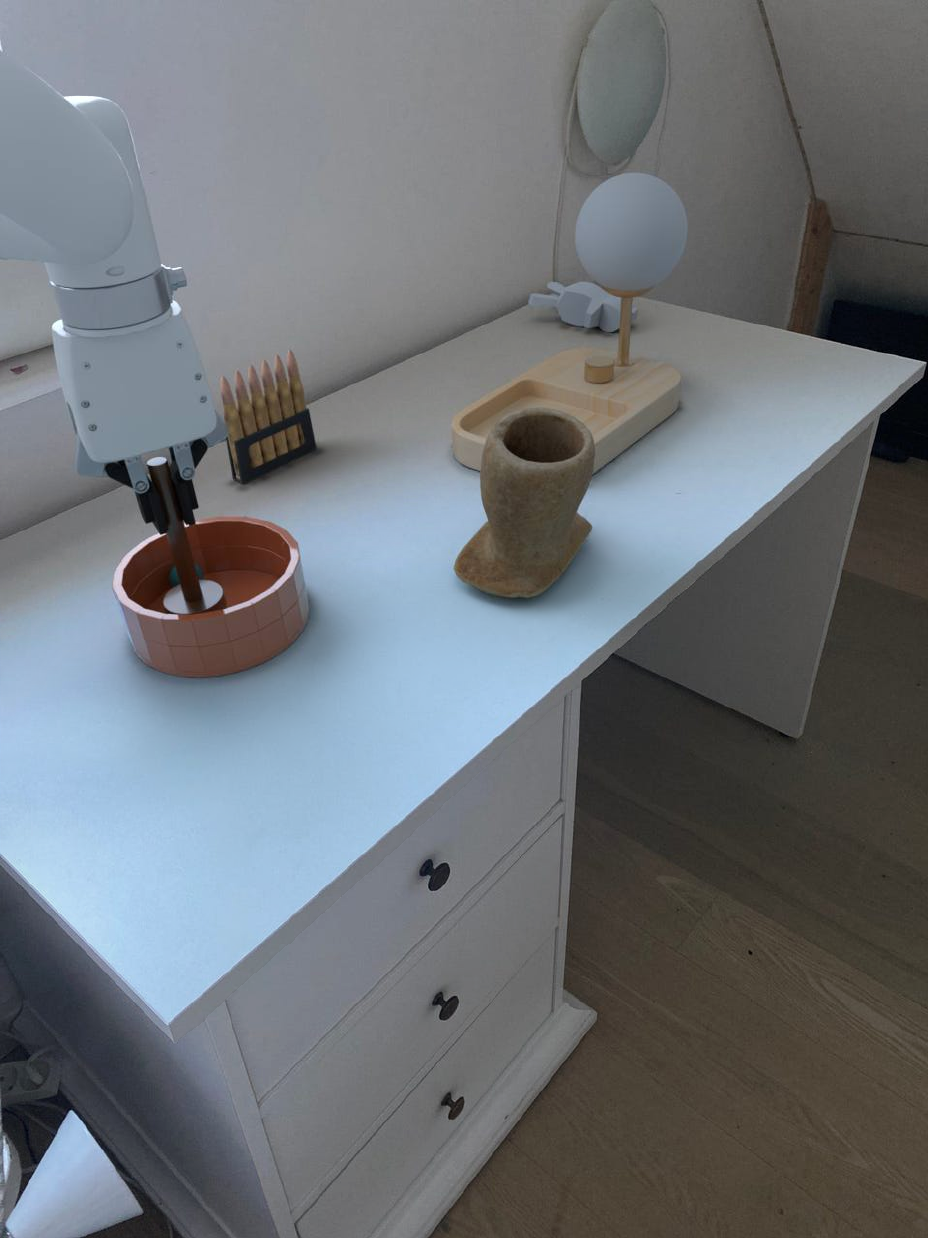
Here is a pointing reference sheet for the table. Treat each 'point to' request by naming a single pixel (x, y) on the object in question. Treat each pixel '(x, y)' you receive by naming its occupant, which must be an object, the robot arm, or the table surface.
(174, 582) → the bead
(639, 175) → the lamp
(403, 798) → the table surface
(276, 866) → the table surface
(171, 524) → the brown disc-based tamper
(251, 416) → the ammunition clip
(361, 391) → the table surface
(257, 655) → the bowl
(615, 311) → the bunny figurine
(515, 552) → the stone cup
